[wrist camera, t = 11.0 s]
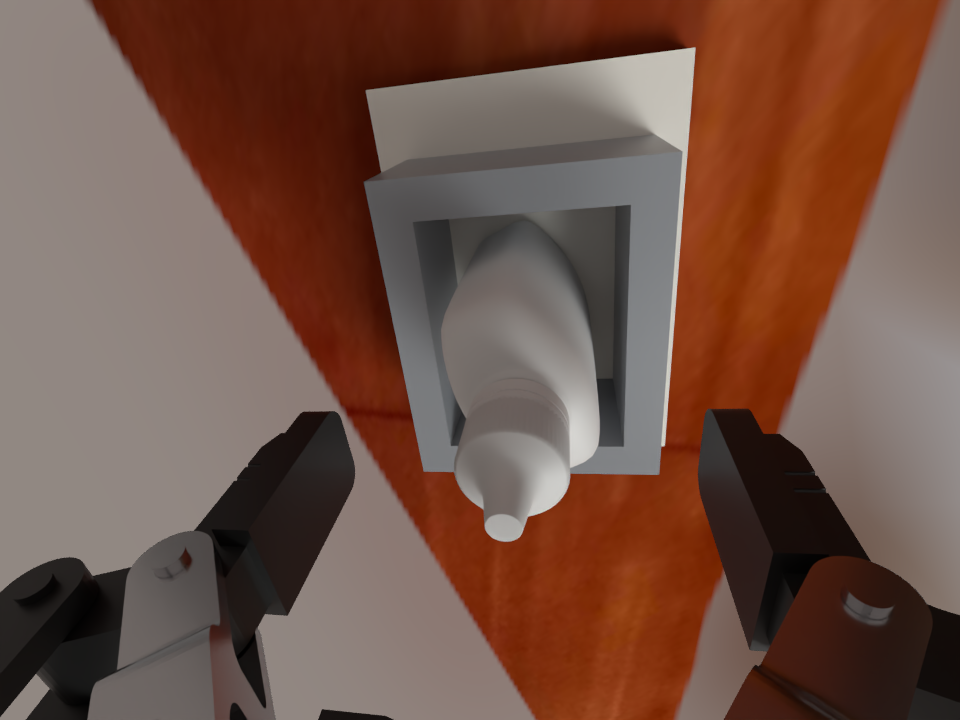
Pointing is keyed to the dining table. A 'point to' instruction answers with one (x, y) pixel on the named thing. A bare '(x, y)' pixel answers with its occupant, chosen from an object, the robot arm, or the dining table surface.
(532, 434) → the eye dropper bottle
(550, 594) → the dining table surface
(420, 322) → the socket
